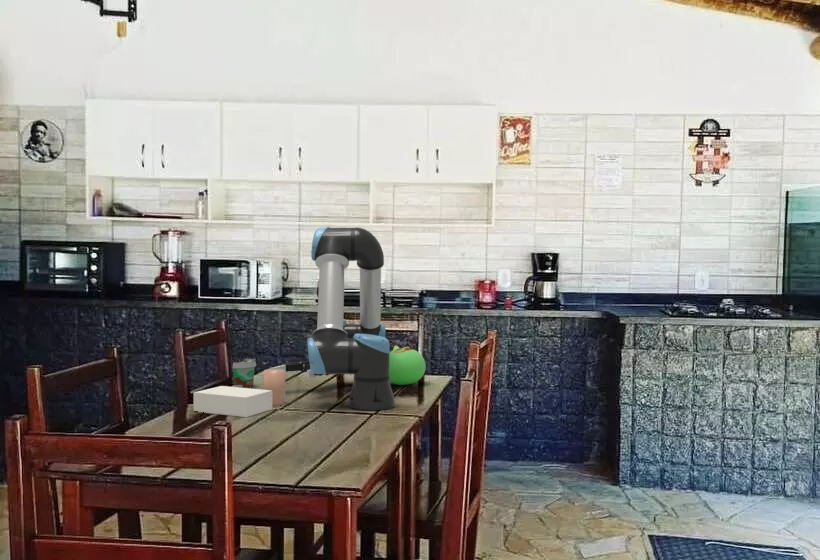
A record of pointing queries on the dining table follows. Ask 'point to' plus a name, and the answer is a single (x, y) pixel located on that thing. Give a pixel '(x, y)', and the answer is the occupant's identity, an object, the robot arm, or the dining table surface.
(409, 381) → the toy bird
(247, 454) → the dining table surface
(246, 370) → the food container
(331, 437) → the dining table surface
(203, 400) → the cream riser
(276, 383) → the terracotta canister
